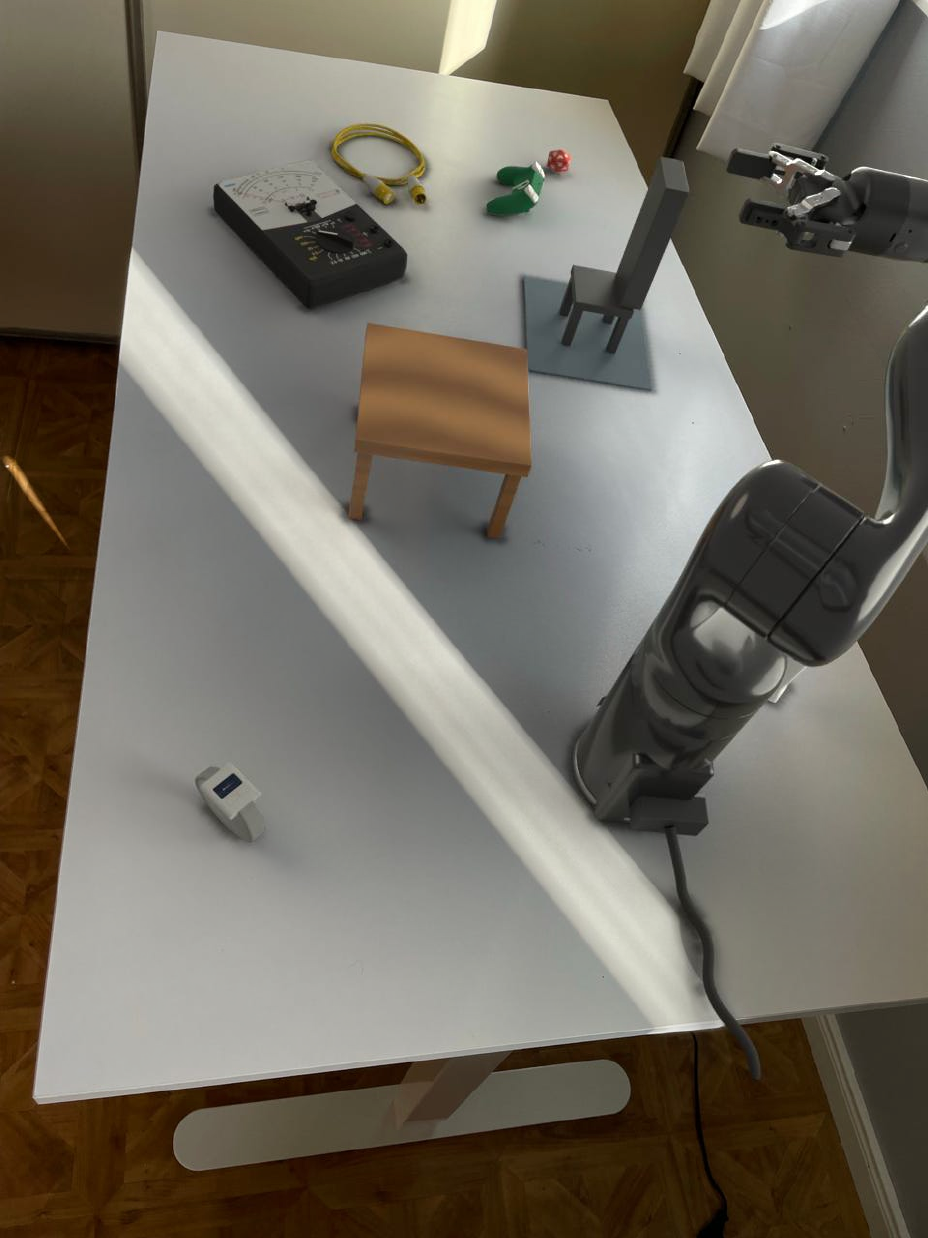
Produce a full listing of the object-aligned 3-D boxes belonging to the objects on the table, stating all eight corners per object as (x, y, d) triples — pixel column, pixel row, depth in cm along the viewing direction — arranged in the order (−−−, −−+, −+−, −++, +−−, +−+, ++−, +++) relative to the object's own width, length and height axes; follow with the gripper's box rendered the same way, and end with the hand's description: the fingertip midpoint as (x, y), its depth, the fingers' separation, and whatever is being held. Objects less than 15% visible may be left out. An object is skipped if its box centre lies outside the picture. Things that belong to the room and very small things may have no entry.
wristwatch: (273, 834, 73) (276, 806, 69) (243, 859, 71) (245, 832, 67) (216, 777, 75) (216, 746, 70) (187, 801, 73) (185, 770, 69)
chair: (618, 318, 116) (682, 158, 100) (623, 356, 112) (690, 195, 96) (558, 308, 115) (612, 143, 99) (560, 345, 111) (618, 181, 95)
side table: (503, 542, 93) (532, 465, 85) (343, 521, 91) (355, 439, 82) (501, 428, 102) (527, 348, 93) (355, 406, 99) (367, 322, 91)
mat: (651, 390, 110) (651, 389, 110) (527, 370, 108) (528, 369, 108) (637, 298, 119) (638, 297, 119) (523, 278, 117) (524, 276, 117)
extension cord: (323, 194, 118) (324, 178, 117) (337, 124, 128) (338, 108, 126) (424, 214, 120) (426, 199, 119) (431, 143, 129) (433, 129, 128)
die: (541, 164, 132) (547, 142, 129) (563, 165, 133) (569, 143, 130) (548, 177, 130) (554, 156, 128) (569, 178, 131) (576, 157, 129)
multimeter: (308, 313, 106) (311, 273, 102) (211, 210, 113) (211, 169, 108) (405, 280, 112) (412, 241, 108) (308, 185, 119) (311, 145, 115)
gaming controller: (498, 233, 124) (539, 213, 121) (482, 207, 122) (524, 186, 119) (510, 194, 129) (550, 174, 126) (495, 168, 127) (536, 147, 124)
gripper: (893, 141, 99) (740, 107, 96) (932, 225, 90) (765, 190, 88) (854, 209, 105) (709, 178, 102) (887, 293, 96) (730, 263, 94)
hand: (735, 184), depth 95 cm, fingers open, 8 cm apart
